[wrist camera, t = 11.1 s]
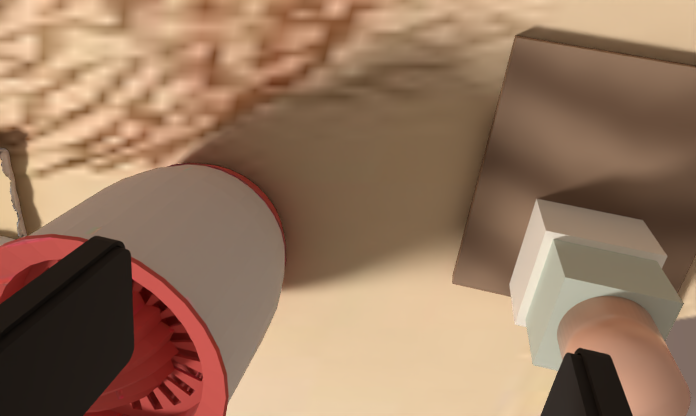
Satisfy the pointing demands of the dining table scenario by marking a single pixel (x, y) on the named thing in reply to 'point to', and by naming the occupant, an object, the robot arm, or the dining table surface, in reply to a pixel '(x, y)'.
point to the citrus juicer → (175, 281)
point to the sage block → (593, 292)
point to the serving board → (584, 153)
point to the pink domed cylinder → (628, 352)
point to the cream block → (578, 229)
